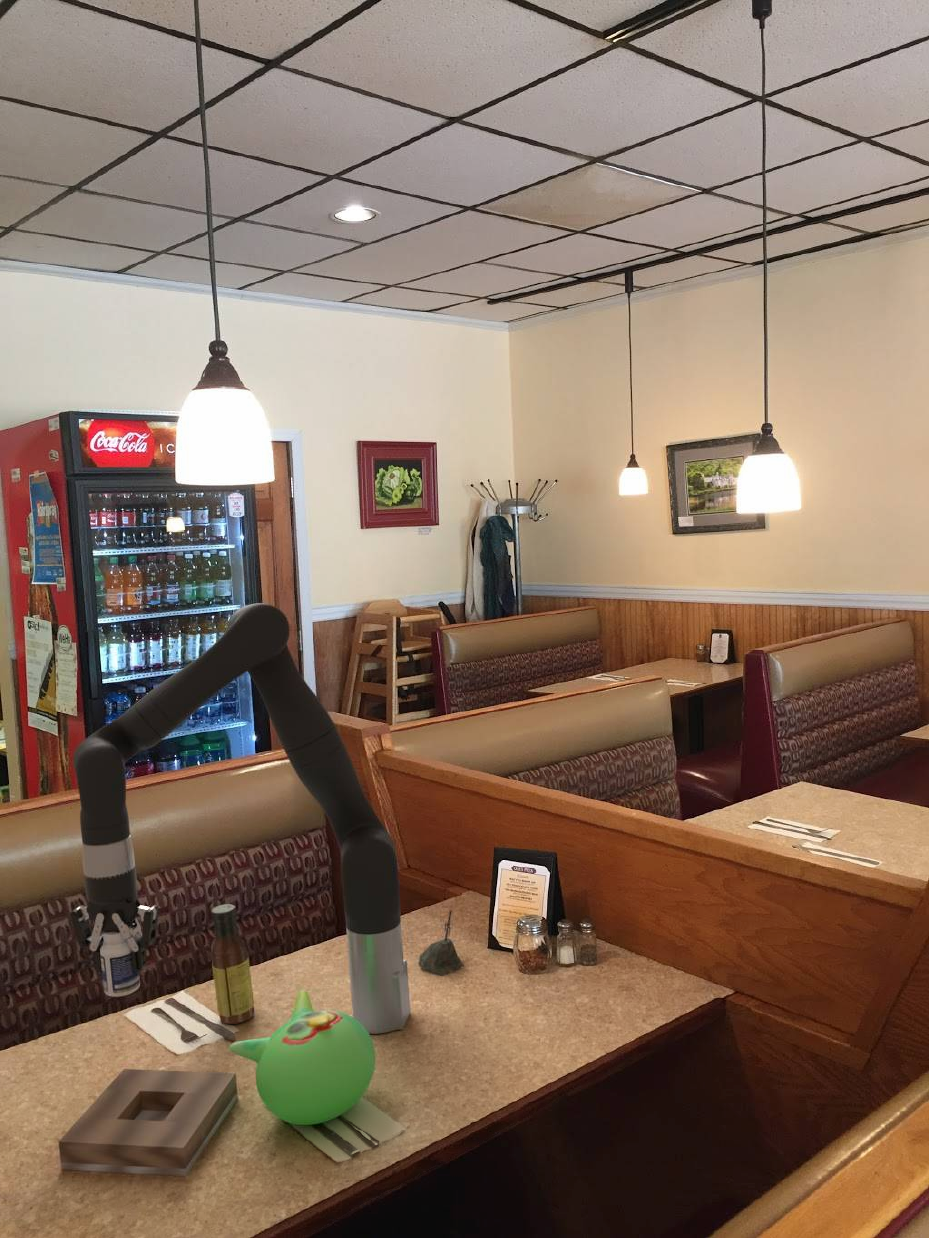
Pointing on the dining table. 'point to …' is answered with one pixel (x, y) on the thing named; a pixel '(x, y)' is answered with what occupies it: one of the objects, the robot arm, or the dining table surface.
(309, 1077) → the toy bird
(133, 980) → the pill bottle
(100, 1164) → the socket block
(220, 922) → the sauce bottle
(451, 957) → the sword in stone
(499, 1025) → the dining table surface
